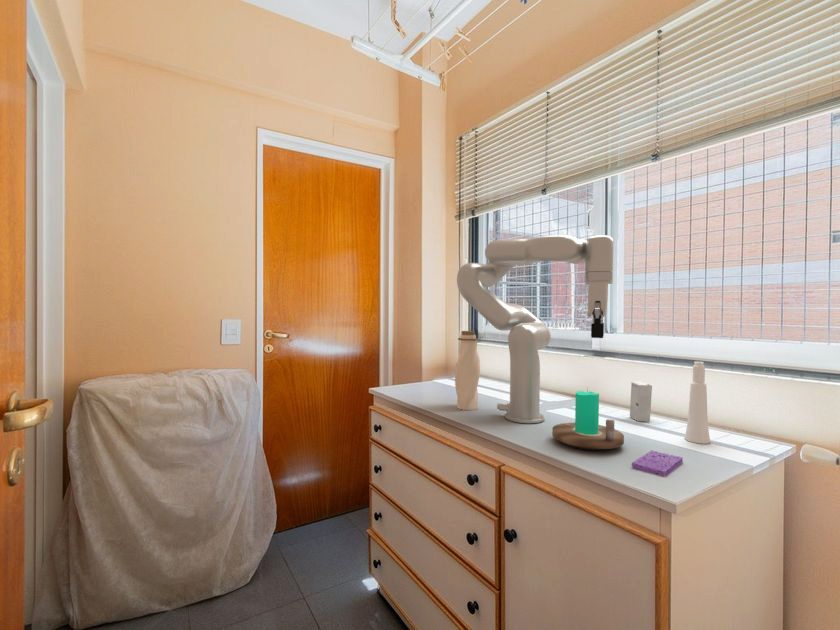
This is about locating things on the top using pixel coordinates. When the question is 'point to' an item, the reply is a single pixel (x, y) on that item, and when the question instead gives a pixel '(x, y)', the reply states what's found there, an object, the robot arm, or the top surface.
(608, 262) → the robot arm
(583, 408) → the candle
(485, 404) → the top surface
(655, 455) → the sponges
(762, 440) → the top surface
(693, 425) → the cosmetic bottle
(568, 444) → the turntable base
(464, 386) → the water bottle
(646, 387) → the skincare box
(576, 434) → the turntable
